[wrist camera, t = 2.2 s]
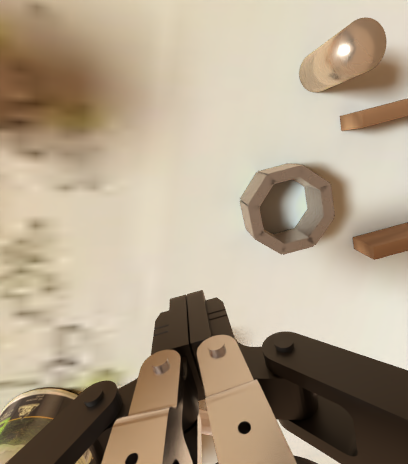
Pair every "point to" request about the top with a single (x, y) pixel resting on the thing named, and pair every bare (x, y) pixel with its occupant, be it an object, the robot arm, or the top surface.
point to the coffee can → (32, 419)
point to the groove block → (392, 237)
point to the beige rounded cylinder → (344, 55)
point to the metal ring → (309, 224)
